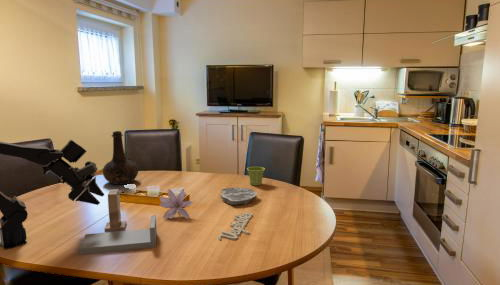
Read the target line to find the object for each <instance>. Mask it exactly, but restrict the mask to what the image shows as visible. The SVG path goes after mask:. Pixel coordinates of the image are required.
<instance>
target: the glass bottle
mask: <svg viewBox="0 0 500 285" xmlns="http://www.w3.org/2000/svg"><path fill="white" fill-rule="evenodd" d="M123 136H124V134H122V131H118V130H116V131H113V132H112V135H111V137H112V139H113V140H112V143H113V144H112V146H113V147H112V158H111V160H110V161H108V162H107V163H106V164H104V166H103V168H102V175H103V177H104V179H105V180H106V182H108V183H110V184H113V185H126V184H129V183H132V182H133V181H134V180H135V179H136V178H137V176H138V174H139V167H138V164H137V163H136V162H135V161H134V160H133V159H131V158H127V156H126V153H125V150H124V144H123V143H124V142H123Z"/></svg>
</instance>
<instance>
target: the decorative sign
mask: <svg viewBox="0 0 500 285" xmlns="http://www.w3.org/2000/svg"><path fill="white" fill-rule="evenodd" d="M252 216H253V213H251V212H246V211H244V212H242V214H241V215H240V214H235V217H233V219H234V220H233V221H232V222H230V231H229V232H228V231H225V230H224V229H223V230H221V234H218V237H217V239H218V241H220V240H221V241H222V238H224V239H228V240H234V241H235V240H238V237H240V236H241V234H242V233H243V234H244V235H249V234H250V231H248V230H247V229H245V228H246V226H247V224H248V222H249V221H250V220H251V218H252ZM235 221H236V222H235Z"/></svg>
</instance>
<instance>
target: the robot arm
mask: <svg viewBox="0 0 500 285" xmlns="http://www.w3.org/2000/svg"><path fill="white" fill-rule="evenodd" d="M86 152H87V150H86V149H85V148H83V147H82V146H81V145H80V144H78V143H76V142H75V141H74V140H72V139H69V140H68V142H67V143H66V144H65V146H63V147H62V148H61V149H54V148H52V149H51V148H49V147H48V146H45V145H21V144H16V143H10V142H5V141H0V155H5V156H9V157H16V158H21V159H23V160H26V161H29V162H31V163H35V164H37V165H41V166H42V170H43V175H47V174H48V173H49V172H50V173H52V174H53V175H54V176H55V177H57V178H58V179H60V180H61V182H60V183H62V184H63V185H64V184H66V185H68V186H69V187H70V192H69V193H68V194H67V195H68V199H69V200H70V201H72V202H74V201H75V202H81V203H87V204H91V205H97V206H99V205H100V204H101V202H100V200H98V199H97V198H96V196H94V195H97V196H99V197H104V196H105V193H104V192H103V191H102V189H101V188H100V186H99V185H98V183H97V176H96V173H97V171H98V170H99V169H98V167H97V164H96V163H95V161H93V162H92V161H90V160H88V161H86V162H85V163H84V166H83V167H80V168H79V167H77V166H75V167H73V166H72V165H71V164H74V163H77V162H78V161H79V160H80V159H81V158H82V156H84V155H85V154H86ZM68 162H69V163H68ZM0 213H1V214H2V215H1V217H0V246H1V247H2V248H3V249H4V250H9V249H12V248H16V247H19V246H23V245H26V244H27V243H28V242H27V232H26V228H25V227H24V224H23V223H24V222H26V220H27V219H28V211H27V206H26V203H25V202H24V201H21V200H20V199H19V198H18V197H17V195H14V196H13V197H10V196H7V195H6V194H4V193H3V192H2V191H0Z"/></svg>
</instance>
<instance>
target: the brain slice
mask: <svg viewBox="0 0 500 285" xmlns="http://www.w3.org/2000/svg"><path fill="white" fill-rule="evenodd" d="M257 195H258V192H257V191H255V190H254V189H252V188H248V187H246V188H245V187H226V188H222V189H221V194H220V197H221V200H222V201H223V202H224V203H226V202H227V204H228V205H230V206H238V205H246V204H249V203H250V202H251V201H252V200H253V199H255V198H256V197H257Z"/></svg>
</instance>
